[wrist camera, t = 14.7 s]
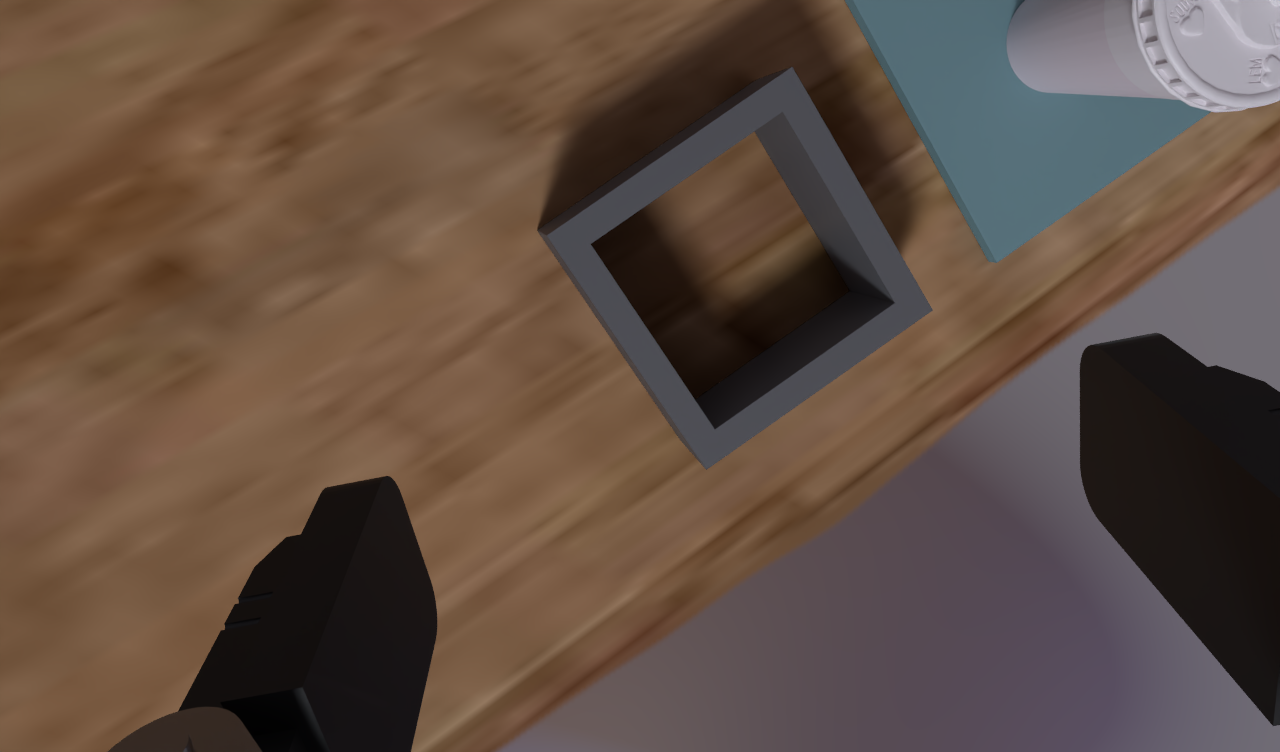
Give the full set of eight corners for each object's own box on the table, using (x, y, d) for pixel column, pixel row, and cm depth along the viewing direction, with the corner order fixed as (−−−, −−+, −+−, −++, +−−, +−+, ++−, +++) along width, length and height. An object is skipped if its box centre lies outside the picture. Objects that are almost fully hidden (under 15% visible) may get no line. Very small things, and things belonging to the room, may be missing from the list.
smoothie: (1092, 154, 38) (1451, 133, 24) (947, 95, 36) (1242, 39, 23) (1155, -14, 37) (1563, -132, 23) (1009, -80, 35) (1353, -247, 22)
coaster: (835, -18, 35) (841, -22, 35) (1104, -203, 36) (1115, -209, 35) (988, 261, 38) (996, 262, 38) (1235, 87, 39) (1247, 86, 38)
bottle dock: (537, 230, 35) (546, 235, 31) (755, 79, 35) (792, 66, 32) (680, 440, 37) (706, 469, 34) (884, 297, 38) (932, 310, 34)
